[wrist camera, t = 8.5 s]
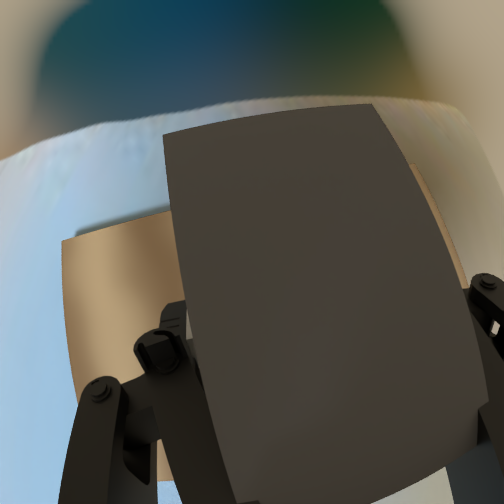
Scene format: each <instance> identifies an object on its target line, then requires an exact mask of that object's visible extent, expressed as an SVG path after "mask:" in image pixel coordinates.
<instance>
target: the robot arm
mask: <svg viewBox="0 0 504 504" xmlns="http://www.w3.org/2000/svg"><path fill="white" fill-rule="evenodd" d="M463 292H464V295H465V299H466V302H467V305H468V308H469V312H470V315H471V319H472V322H473V326H474V330H475V334H476V338H477V342H478V346H479V350H480V355H481V360H482V364H483V369H484V375H485V380H486V386H487V392H488V399H489V401H488V402H487V403H485V404H484V405H483V406H481V407H480V408H478V433H477V446H476V447H474V448H473V449H471V450H470V451H468V452H467V453H465V454H464V455H462V456H461V457H459V458H458V459H456V460H455V461H453V462H451V463H450V464H448V465H447V466H445V467H446V471H447V474H448V479H449V483H450V487H451V491H452V496H453V500H454V504H504V282H503V281H502V280H501V279H499V278H498V277H496V276H494V275H491V274H488V273H481V274H476V275H475V276H473V277H472V280H471V284H470V288H464V289H463ZM495 321H496V322H497V323H498V324H500V327H499V330H498V333H497V335H495V334H493V333H492V332H491V331H492V328H493V325H494V322H495ZM133 352H134V354H135V356H136V358H137V359H138V361H139V363H140V365H141V367H142V369H143V370H144V372H145V373H144V374H142V375H141V376H139V377H137V378H135V379H132V380H130V381H127V382H125V383H122V384H120V382H119V381H118V379H117V378H114V377H112V376H102V377H98V378H96V379H94V380H92V381H91V382H89V383H88V384H87V385H86V386H85V388H84V390H83V392H82V394H81V397H80V400H79V404H78V408H77V412H76V416H75V419H74V423H73V428H72V432H71V436H70V440H69V445H68V449H67V454H66V459H65V464H64V469H63V475H62V480H61V486H60V493H59V499H58V504H158V497H157V441H158V440H160V439H161V440H162V444H163V447H164V451H165V454H166V457H167V460H168V464H169V467H170V470H171V473H172V476H173V479H174V482H175V485H176V487H177V490H178V493H179V496H180V499H181V501H182V504H237V502H236V499H235V496H234V493H233V490H232V487H231V484H230V480H229V477H228V474H227V471H226V467H225V464H224V461H223V457H222V454H221V450H220V447H219V443H218V440H217V436H216V433H215V429H214V425H213V422H212V418H211V414H210V410H209V406H208V402H207V398H206V394H205V390H204V386H203V382H202V378H201V373H200V369H199V365H198V360H197V356H196V351H195V346H194V342H193V337H192V332H191V327H190V322H189V317H188V312H187V307H186V302H185V300H182V301H177V302H172V303H168V304H167V305H166V306H165V308H164V309H163V310H162V312H161V316H160V323H159V328H156V329H152V330H150V331H148V332H146V333H144V334H143V335H142V336H140V337H139V338H138V339H137V341H136V342H135V344H134V348H133ZM238 504H260V503H259V501H258V500H255V501H250V502H244V503H238Z"/></svg>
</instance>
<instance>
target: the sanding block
mask: <svg viewBox="0 0 504 504" xmlns="http://www.w3.org/2000/svg"><path fill="white" fill-rule="evenodd" d="M163 145H164V155H165V165H166V174H167V183H168V191H169V199H170V207H171V215H172V222H173V229H174V236H175V242H176V249H177V255H178V262H179V268H180V274H181V279H182V285H183V291H184V296H185V302H186V307H187V312H188V317H189V322H190V327H191V332H192V337H193V342H194V346H195V351H196V356H197V360H198V365H199V369H200V373H201V378H202V382H203V386H204V390H205V394H206V398H207V402H208V406H209V410H210V414H211V418H212V422H213V425H214V429H215V433H216V436H217V440H218V443H219V447H220V450H221V454H222V457H223V461H224V464H225V467H226V471H227V474H228V477H229V480H230V484H231V487H232V490H233V493H234V496H235V499H236V502H237V504H238V503H244V502H250V501H255V500H258V501H259V503H260V504H371V503H373V502H376V501H378V500H380V499H383V498H385V497H387V496H390V495H392V494H394V493H396V492H398V491H400V490H402V489H404V488H406V487H408V486H410V485H412V484H414V483H416V482H418V481H420V480H422V479H424V478H426V477H428V476H429V475H431V474H433V473H435V472H436V471H438V470H440V469H442V468H443V467H445V466H447V465H448V464H450V463H451V462H453V461H455V460H456V459H458V458H459V457H461V456H462V455H464V454H465V453H467V452H468V451H470V450H471V449H473V448H474V447H476V446H477V433H478V408H480V407H481V406H483V405H484V404H485V403H487V402H488V401H489V399H488V392H487V386H486V380H485V375H484V369H483V364H482V360H481V355H480V350H479V346H478V342H477V338H476V334H475V330H474V326H473V322H472V319H471V315H470V312H469V308H468V305H467V302H466V299H465V295H464V292H463V289H462V286H461V283H460V280H459V277H458V274H457V272H456V269H455V266H454V263H453V261H452V258H451V255H450V253H449V250H448V248H447V245H446V243H445V240H444V238H443V235H442V233H441V231H440V228H439V226H438V224H437V222H436V219H435V217H434V215H433V213H432V210H431V208H430V206H429V204H428V202H427V200H426V198H425V196H424V194H423V192H422V190H421V188H420V186H419V184H418V182H417V180H416V178H415V176H414V174H413V172H412V170H411V168H410V167H409V165H408V163H407V161H406V159H405V157H404V156H403V154H402V152H401V150H400V149H399V147H398V145H397V144H396V142H395V140H394V138H393V137H392V135H391V133H390V132H389V130H388V129H387V127H386V125H385V124H384V122H383V121H382V119H381V118H380V116H379V114H378V113H377V111H376V110H375V108H374V107H373V105H372V104H357V105H341V106H328V107H317V108H307V109H298V110H290V111H282V112H275V113H268V114H261V115H255V116H249V117H243V118H237V119H232V120H227V121H222V122H217V123H212V124H207V125H202V126H198V127H193V128H189V129H185V130H180V131H176V132H172V133H168V134H164V135H163Z"/></svg>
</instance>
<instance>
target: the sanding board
mask: <svg viewBox="0 0 504 504" xmlns="http://www.w3.org/2000/svg"><path fill="white" fill-rule="evenodd" d="M408 165H409V167H410V168H411V170H412V172H413V174H414V176H415V178H416V180H417V182H418V184H419V186H420V188H421V190H422V192H423V194H424V196H425V198H426V200H427V202H428V204H429V206H430V208H431V210H432V213H433V215H434V217H435V219H436V222H437V224H438V226H439V228H440V231H441V233H442V235H443V238H444V240H445V243H446V245H447V248H448V250H449V253H450V255H451V258H452V261H453V263H454V266H455V269H456V272H457V274H458V277H459V280H460V283H461V286H462V289H464V288H469V286H468V283H467V280H466V277H465V274H464V271H463V268H462V266H461V263H460V260H459V258H458V255H457V252H456V250H455V247H454V245H453V242H452V240H451V237H450V235H449V233H448V230H447V228H446V226H445V223H444V221H443V219H442V217H441V214H440V212H439V210H438V208H437V206H436V204H435V202H434V200H433V198H432V195H431V193H430V191H429V189H428V187H427V185H426V184H425V182H424V180H423V178H422V176H421V174H420V172H419V170H418V168H417V167H416V165H415V164H408ZM62 289H63V305H64V317H65V327H66V336H67V344H68V352H69V358H70V365H71V371H72V377H73V382H74V387H75V392H76V397H77V402H78V404H79V400H80V397H81V394H82V392H83V390H84V388H85V386H86V385H87V384H88V383H89V382H91V381H92V380H94V379H96V378H98V377H102V376H112V377H114V378H117V379H118V381H119V382H120V384H122V383H125V382H127V381H130V380H132V379H135V378H137V377H139V376H141V375H142V374H144V373H145V372H144V370H143V369H142V367H141V365H140V363H139V361H138V359H137V358H136V356H135V354H134V352H133V348H134V344H135V342H136V341H137V339H138V338H139V337H140V336H142V335H143V334H144V333H146V332H148V331H150V330H152V329H156V328H159V323H160V316H161V312H162V310H163V309H164V308H165V306H166V305H167V304H168V303H172V302H177V301H182V300H185V296H184V291H183V285H182V279H181V274H180V268H179V262H178V255H177V249H176V242H175V236H174V229H173V222H172V215H171V210H170V211H166V212H162V213H158V214H154V215H150V216H146V217H143V218H139V219H135V220H132V221H128V222H124V223H121V224H117V225H114V226H110V227H107V228H103V229H100V230H96V231H93V232H90V233H86V234H83V235H80V236H76V237H73V238H70V239H67V240H63V241H62ZM173 480H174V479H173V476H172V473H171V470H170V467H169V464H168V460H167V457H166V454H165V451H164V447H163V444H162V440H161V439H160V440H158V441H157V481H173Z"/></svg>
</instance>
